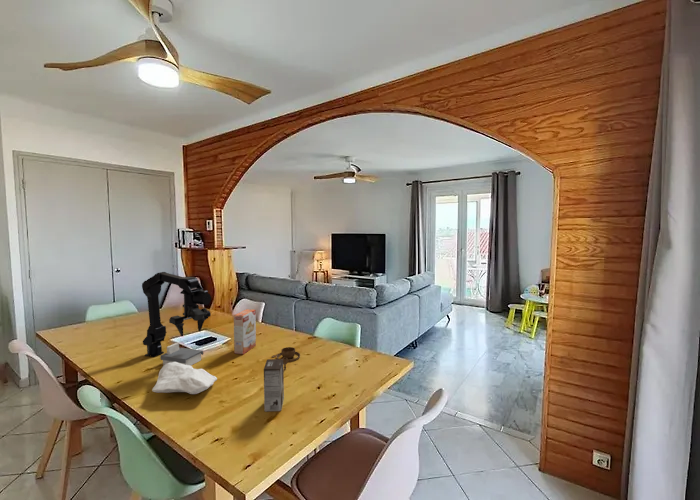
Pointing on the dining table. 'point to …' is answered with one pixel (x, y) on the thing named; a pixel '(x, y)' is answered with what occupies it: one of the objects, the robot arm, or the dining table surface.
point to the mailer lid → (179, 353)
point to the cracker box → (244, 331)
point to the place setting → (287, 355)
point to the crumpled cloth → (182, 379)
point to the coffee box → (273, 385)
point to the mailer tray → (188, 360)
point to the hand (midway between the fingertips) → (191, 333)
